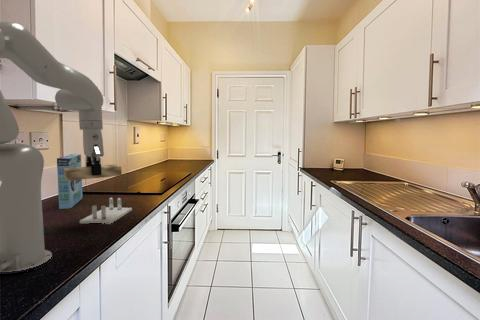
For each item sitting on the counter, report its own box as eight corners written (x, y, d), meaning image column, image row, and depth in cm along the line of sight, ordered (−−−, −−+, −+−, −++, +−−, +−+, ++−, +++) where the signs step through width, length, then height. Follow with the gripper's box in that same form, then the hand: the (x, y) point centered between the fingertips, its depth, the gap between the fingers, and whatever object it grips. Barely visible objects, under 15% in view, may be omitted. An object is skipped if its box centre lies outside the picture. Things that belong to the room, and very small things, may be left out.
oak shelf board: (116, 172, 114) (115, 164, 114) (121, 175, 109) (121, 166, 108) (64, 177, 103) (63, 168, 102) (67, 180, 97) (66, 170, 97)
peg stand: (110, 224, 107) (110, 208, 106) (79, 223, 107) (78, 207, 107) (132, 209, 126) (131, 196, 125) (105, 209, 126) (105, 196, 126)
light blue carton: (72, 199, 144) (70, 154, 142) (83, 198, 146) (81, 154, 143) (58, 209, 126) (55, 158, 123) (71, 208, 127) (68, 158, 124)
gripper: (109, 125, 99) (111, 175, 101) (96, 125, 112) (98, 169, 115) (85, 125, 94) (88, 178, 97) (74, 125, 108) (77, 171, 110)
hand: (93, 173), depth 106 cm, fingers closed on oak shelf board, 7 cm apart
